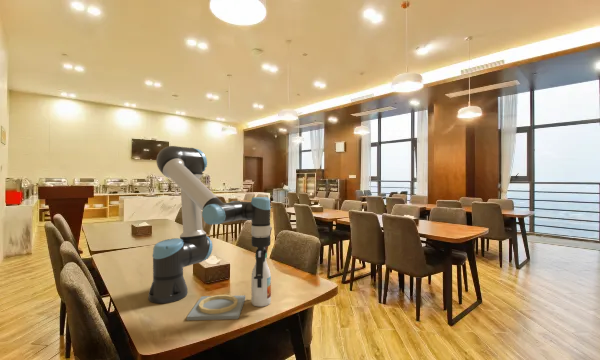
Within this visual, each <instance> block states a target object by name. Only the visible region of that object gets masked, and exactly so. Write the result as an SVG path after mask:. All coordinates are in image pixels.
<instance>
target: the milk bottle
mask: <svg viewBox="0 0 600 360" xmlns="http://www.w3.org/2000/svg"><path fill="white" fill-rule="evenodd" d="M254 255H255V260H256V253H255V254H254ZM267 258H268V253H267V252H266V256H265V262H264V263H263V296H256V279H254V277H255V276H256V262H254V263H255V264H254V266H253V269H252V271H251V287H250V288H251V292H250V293H251V304H252V306H255V307H267V306H269V305H270V304H271V302H272V281H271V280H272V274H271V269H270V268H269V264H268V262H267Z"/></svg>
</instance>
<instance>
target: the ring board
mask: <svg viewBox="0 0 600 360" xmlns="http://www.w3.org/2000/svg"><path fill="white" fill-rule="evenodd" d="M245 301H246V295H245V294H244V295H243V294H242V295H241V294H240V295H229V294H216V295H203V296H202V295H201V296H200V298H199V299H198V301H197V302H196V303H195V305H194V306H193V307H192V309H191V310H190V311H189V312H188V314H187V316H186V321H207V320H208V321H209V320H210V321H211V320H214V321H215V320H238V319H239V318H240V315H241V314H242V313H241V312H242V309H243V306H244V303H245Z"/></svg>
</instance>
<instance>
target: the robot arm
mask: <svg viewBox="0 0 600 360" xmlns="http://www.w3.org/2000/svg"><path fill="white" fill-rule="evenodd" d="M156 166H157V169H158V170H159V171H160V173H161V174H162V175H163V176H164V177H166V178H167V179H168V178H169V179H171V181H173V182H174V183H175V185H177V186H178V188H179V189H180V200H181V202H180V203H181V217H182V233H181V234H180V235H179V238H177V237H176V238H175V237H173V238H170V239H163V240H160V241H159V242H157V243H155V245H154V246H153V249H152V250H153V251H152V282H151V286H150V287H149V292H148V301H149V302H150V301H151V302H150V303H153V302H154V303H153V304H168V303H169V304H170V303H174V302H177V301H179V300H183V299H184V298H185V297H187V295H188V285H187V283H186V280H185V278H184V268H186V267H188V266H191V265H195V264H201V263H202V262H204V261H206V260H207V259H209V258H210V256H211V254H212V252H213V242H212V240H211V238H210V237H209V236H207V232H206V231H205V230H204V229H203V222H204V223H205V224H207V225H220V224H224V223H230V222H235V221H236V222H237V221H242V220H243V221H251V229H250V230H251V234H250V235H251V246H252V247H255V248H256V250H255V254H256V257H255V258H256V259H255V263H256V276H255V277H254V279H256V296H263V263H264V262H265V256H266V253H267V249H266V247H270V246H271V236H270V235H271V230H272V229H273V227H271V210H272V208H271V199H270V198H269V197H267V196H257V197H255V196H254V197H252V198H251V200H250V201H244V200H243V201H242V200H241V201H240V200H232V201H230V202H223V201H222V200H221V199H220V198H219V197H218V196H217V195H216V194H214V193H213V191H211V190H210V189H209V188H208V186H206V185H205V184H204V183H203V182H202V181H201V180H200V179H201V178H202V177H204V176H203V172H205V171H206V168H207V167H208V159H207V157H206V155H205V153H204V151H202V150H201V149H198V148H194V147H185V146H178V145H177V146H176V145H168V146H165V147H163V148H162V149H160V150H159V152H158V154H157V155H156Z"/></svg>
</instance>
